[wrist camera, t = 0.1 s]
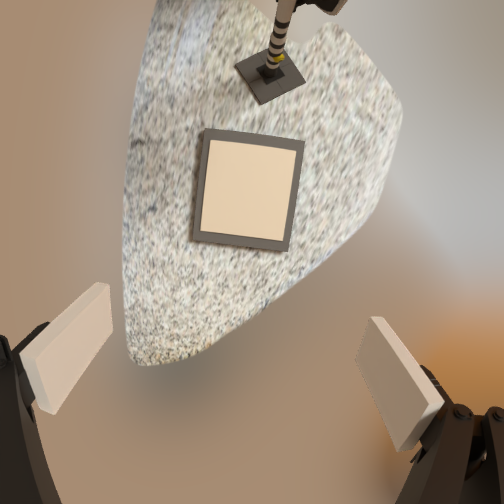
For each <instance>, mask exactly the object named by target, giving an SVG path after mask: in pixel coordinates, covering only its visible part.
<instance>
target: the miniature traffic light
mask: <svg viewBox="0 0 504 504" xmlns="http://www.w3.org/2000/svg"><path fill="white" fill-rule="evenodd" d="M276 2H278V6H277V11H276V17H275V23H274V28H273V32H272V33H271V36H270V42H269V48H268V49H265V50H263V51H261V52H259V53H257V54H255V55H253V56H251V57H249V58H247V59H245V60H243V61H241V62H239V63H237V64H235V65H236V66H237V68H238V69H239V71H240V72H241V74H242V75H243V77H244V78H245V80H246V81H247V83H248V84H249V86H250V87H251V89H252V91H253V92H254V94H255V95H256V97H257V98H258V100H259V101H260V103H261V105H262V104H264V103H266V102H268V101H270V100H272V99H274V98H276V97H278V96H280V95H281V94H283V93H286V92H288V91H290V90H292V89H294V88H296V87H298V86H300V85H302V84H304V83H306V81H305V80H304V78H303V77H302V75H301V74H300V72H299V71H298V69H297V67H296V66H295V65H294V63H293V62H292V60H291V59H290V57H289V56H288V54H287V53H286V51H285V50H284V45H285V42H286V39H287V35H286V33H287V30H288V27H289V23H290V20H291V16H292V13H293V12H295V11H296V8H297V7H298V6H301V5H303V4H305V3H306V4H307V5H308V4H315V5H316V6H317V7H318V8H320V9H321V10H322V11H323V12H325V13H327V14H329V15H337V14H338V13H339V11H340V10H341V8H342V7H343V6H344V4H345V3H346V2H347V0H276Z"/></svg>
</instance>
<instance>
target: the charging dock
mask: <svg viewBox="0 0 504 504" xmlns="http://www.w3.org/2000/svg"><path fill="white" fill-rule="evenodd" d="M304 145H305V141H300V140H294V139H288V138H282V137H276V136H269V135H262V134H254V133H246V132H238V131H229V130H219V129H208V128H205V131H204V139H203V146H202V154H201V162H200V170H199V179H198V188H197V198H196V207H195V218H194V229H193V240H197V241H205V242H213V243H221V244H229V245H237V246H245V247H253V248H261V249H268V250H276V251H284V252H288V248H289V243H290V237H291V231H292V225H293V218H294V212H295V206H296V200H297V193H298V187H299V180H300V173H301V166H302V159H303V152H304Z"/></svg>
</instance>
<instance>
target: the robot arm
mask: <svg viewBox="0 0 504 504" xmlns="http://www.w3.org/2000/svg"><path fill="white" fill-rule="evenodd" d="M112 332H113V327H112V316H111V304H110V287H109V284H105V283H100V282H96V283H95V284H93V285H92V286H91V287H90V288H89V289H88V290H86V291H85V292H84V293H83V294H82V295H81V296H80V297H79V298H77V299H76V300H75V301H74V302H73V303H72V304H71V305H70V306H69V307H67V308H66V309H65V310H64V311H63V312H62V313H61V314H60V315H59V316H58V317H57V318H55V319H54V320H53V321H52V322H51V323H50V322H46V323H43V324H41V325H39V326H37V327H36V328H35V329H34V330H33V331H32V332H31V333H30V334H29V335H28V336H27V337H26V338H25V339H24V340H22V341H21V342H20V343H19V344H18V345H17V346H16V347H15V348H14V349H13V350H12V351H11V349H10V346H9V343H8V340H7V338H6V337H5V336H3V335H0V504H62V503H61V501H60V498H59V495H58V493H57V490H56V488H55V485H54V482H53V479H52V477H51V474H50V471H49V468H48V465H47V462H46V458H45V455H44V451H43V448H42V444H41V440H40V437H39V433H38V429H37V425H36V420H35V415H34V410H33V408H32V406H31V404H32V402H33V401H34V400H35V399H36V401H37V404H38V406H39V408H40V409H41V410H44V411H46V412H48V413H51V414H53V415H55V414H56V412H57V411H58V409H59V408H60V406H61V405H62V403H63V402H64V400H65V399H66V397H67V396H68V394H69V393H70V391H71V390H72V388H73V387H74V385H75V384H76V382H77V381H78V379H79V378H80V377H81V375H82V374H83V372H84V371H85V369H86V368H87V366H88V365H89V364H90V362H91V361H92V359H93V358H94V356H95V355H96V354H97V352H98V351H99V350H100V348H101V347H102V345H103V344H104V343H105V341H106V340H107V338H108V337H109V336H110V334H111V333H112ZM355 361H356V363H357V365H358V367H359V369H360V371H361V373H362V375H363V378H364V380H365V382H366V384H367V386H368V388H369V390H370V392H371V395H372V397H373V399H374V401H375V403H376V406H377V408H378V410H379V412H380V414H381V417H382V419H383V421H384V423H385V426H386V428H387V430H388V432H389V435H390V437H391V439H392V441H393V444H394V446H395V449H396V451H397V452H400V451H406V450H411V449H413V448H414V446H415V445H416V444H417V442H418V441H419V440H420V442H421V444H422V447H421V449H420V450H419V451H418V452H417V454H416V455H415V456H414V458H413V459H412V460H411V461H410V463H412V462H413V461H414V460H415V461H414V464H413V466H412V469H411V471H410V473H409V475H408V478H407V480H406V482H405V484H404V487H403V489H402V491H401V493H400V495H399V497H398V499H397V501H396V503H395V504H504V409H502V408H500V407H491V408H489V409H488V411H487V412H486V414H485V415H484V416H482V415H474V414H473V412H472V411H471V410H470V409H469V408H468V407H466V406H464V405H462V404H454V403H453V402H452V401H451V399H450V398H449V396H448V395H447V394H446V392H445V391H444V389H443V388H442V386H440V384H439V382H438V381H437V380H436V378H435V377H434V375H433V374H432V373H431V371H429V370H428V369H427V368H425V367H424V366H423V365H419V364H418V363H417V362H416V360H415V359H414V358H413V356H412V355H411V354H410V352H409V351H408V349H407V348H406V347H405V345H404V344H403V343H402V341H401V340H400V339H399V338H398V337H397V335H396V334H395V332H394V331H393V330H392V328H391V327H390V326H389V325H388V323H387V322H386V321H385V319H384V318H383V317H374V316H370V318H369V321H368V324H367V327H366V330H365V334H364V336H363V339H362V342H361V345H360V348H359V350H358V353H357V356H356V359H355ZM486 452H487V456H486V460H485V459H484V455H485V453H486Z"/></svg>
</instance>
